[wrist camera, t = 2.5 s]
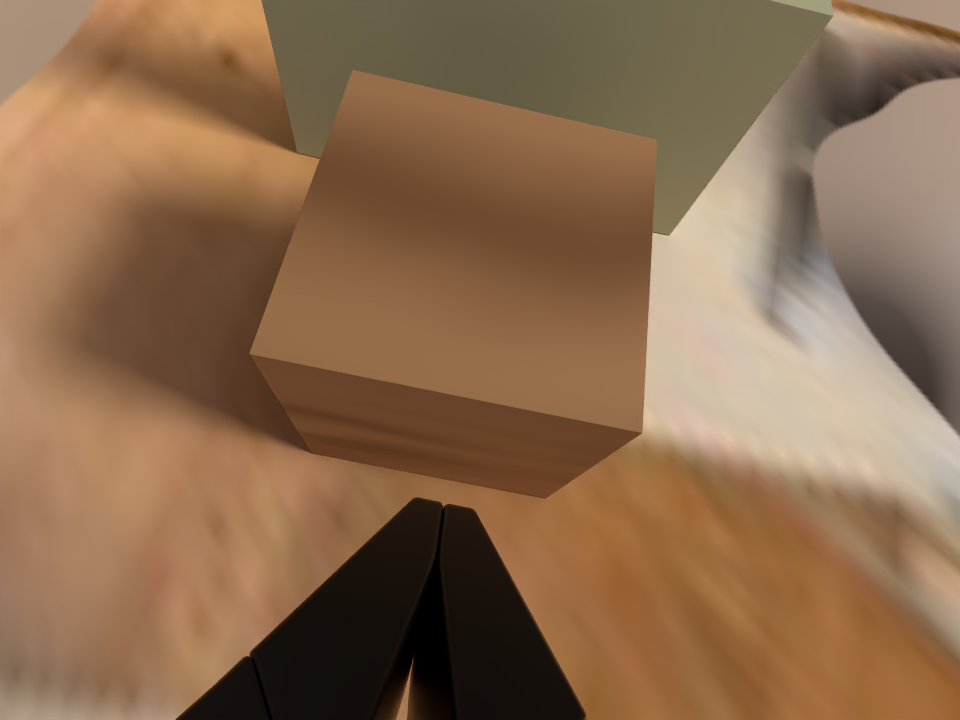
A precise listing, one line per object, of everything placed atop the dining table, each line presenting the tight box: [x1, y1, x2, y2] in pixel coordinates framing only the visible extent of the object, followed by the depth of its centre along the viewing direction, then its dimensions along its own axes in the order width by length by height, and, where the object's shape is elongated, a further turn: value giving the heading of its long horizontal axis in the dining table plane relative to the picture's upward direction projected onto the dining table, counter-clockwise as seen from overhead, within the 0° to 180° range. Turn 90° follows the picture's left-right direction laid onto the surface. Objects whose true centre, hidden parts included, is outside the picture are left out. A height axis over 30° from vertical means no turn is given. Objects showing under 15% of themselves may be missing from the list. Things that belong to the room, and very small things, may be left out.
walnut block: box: [249, 70, 657, 498], centre depth 17 cm, size 8×8×8 cm
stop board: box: [262, 0, 833, 235], centre depth 20 cm, size 2×16×10 cm, turn 80°
